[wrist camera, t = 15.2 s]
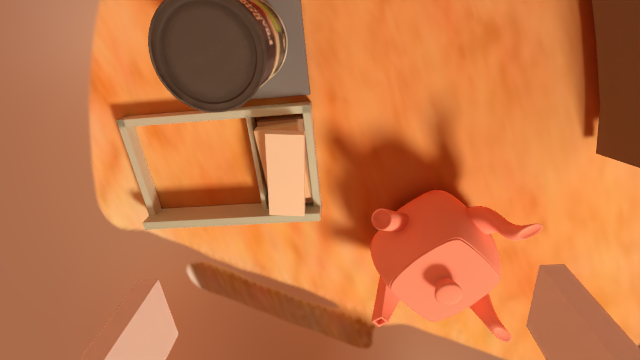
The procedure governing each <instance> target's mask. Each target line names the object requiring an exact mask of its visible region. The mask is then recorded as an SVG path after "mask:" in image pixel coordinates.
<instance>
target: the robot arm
mask: <svg viewBox="0 0 640 360" xmlns="http://www.w3.org/2000/svg"><path fill="white" fill-rule="evenodd" d="M526 326H527V328H528V329H529V331H530V333H531V334H532V336H533V338H534V340H535V341H536V343H537V345H538V346H539V348H540V350H541V351H542V353H543V355H544V356H545V358H546V360H640V349H639V348H638V347H637V346H636V344H635V343H634V342H633V341H632V340H631V339H630V338H629V337H628V335H627V334H626V333H625V332H624V331H623V330H622V329H621V328H620V326H619V325H618V324H617V323H616V322H615V321H614V320H613V319H612V317H611V316H610V315H609V314H608V313H607V312H606V311H605V310H604V308H603V307H602V306H601V305H600V304H599V303H598V302H597V301H596V299H595V298H594V297H593V296H592V295H591V294H590V293H589V292H588V290H587V289H586V288H585V287H584V286H583V285H582V284H581V283H580V281H579V280H578V279H577V278H576V277H575V276H574V275H573V274H572V272H571V271H570V270H569V269H568V268H567V267H566V266H565V265H564V264H557V265H540V266H539V270H538V275H537V279H536V284H535V289H534V293H533V298H532V302H531V307H530V311H529V316H528V320H527V325H526ZM177 336H178V331H177V328H176V326H175V323H174V320H173V318H172V315H171V312H170V310H169V307H168V304H167V301H166V299H165V296H164V293H163V291H162V288H161V285H160V282H159V280H138V281H137V283H136V284H135V285H134V287H133V288H132V290H131V291H130V292H129V294H128V295H127V296H126V297H125V299H124V300H123V301H122V303H121V304H120V305H119V307H118V308H117V309H116V311H115V312H114V314H113V315H112V316H111V318H110V319H109V320H108V321H107V323H106V324H105V325H104V327H103V328H102V329H101V331H100V332H99V333H98V335H97V336H96V337H95V339H94V340H93V341H92V343H91V344H90V345H89V347H88V348H87V349H86V351H85V352H84V353H83V355H82V356H81V357H80V359H79V360H166V358H167V356H168V354H169V352H170V350H171V348H172V346H173V344H174V342H175V340H176V338H177Z"/></svg>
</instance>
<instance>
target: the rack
mask: <svg viewBox="0 0 640 360" xmlns="http://www.w3.org/2000/svg"><path fill="white" fill-rule="evenodd" d="M300 113H303V115H302V116H289V117H276V118H263V119H259V120H258V122H257V126H258V127H256V123H255V118H254V117H262V116H275V115H287V114H300ZM236 118H246V121H247V127H248V132H249V138H250V143H251V148H252V154H253V159H254V164H255V170H256V175H257V180H258V186H259V191H260V197H261V202H262V203H252V204H234V205H216V206H198V207H181V208H163V209H162V208H161V205H160V202H159V199H158V196H157V193H156V190H155V186H154V183H153V180H152V177H151V174H150V171H149V168H148V165H147V162H146V159H145V156H144V153H143V150H142V147H141V144H140V141H139V138H138V135H137V132H136V129H135V126H146V125H159V124H172V123H184V122H197V121H210V120H223V119H236ZM116 121H117V124H118V127H119V130H120V133H121V136H122V139H123V141H124V144H125V147H126V150H127V153H128V156H129V159H130V162H131V164H132V167H133V170H134V173H135V176H136V179H137V182H138V184H139V187H140V190H141V193H142V196H143V199H144V202H145V205H146V207H147V210H148V213H149V217H148V218H147V219H146V220H145V221H144V222H143V225H144V228H145V230H148V229H168V228H188V227H207V226H227V225H247V224H266V223H286V222H306V221H321V210H322V203H321V193H320V184H319V174H318V164H317V155H316V145H315V135H314V126H313V116H312V106H311V101H309V102H297V103H284V104H272V105H259V106H247V107H238V108H236V109H233V110H230V111H226V112H218V113H213V112H204V111H201V110H197V111H185V112H172V113H160V114H147V115H135V116H124V117H122V118H120V119H118V120H116ZM265 179H266V180H265ZM266 183H267V186H266ZM267 187H268V192H267Z"/></svg>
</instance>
